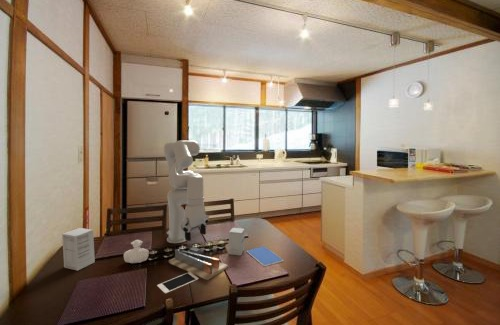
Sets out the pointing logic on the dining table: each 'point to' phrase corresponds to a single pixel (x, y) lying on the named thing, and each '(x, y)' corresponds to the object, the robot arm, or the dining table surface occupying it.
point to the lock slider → (194, 250)
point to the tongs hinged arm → (204, 258)
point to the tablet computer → (264, 256)
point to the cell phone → (177, 282)
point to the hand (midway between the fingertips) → (195, 236)
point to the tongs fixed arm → (193, 262)
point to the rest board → (197, 271)
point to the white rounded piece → (136, 253)
